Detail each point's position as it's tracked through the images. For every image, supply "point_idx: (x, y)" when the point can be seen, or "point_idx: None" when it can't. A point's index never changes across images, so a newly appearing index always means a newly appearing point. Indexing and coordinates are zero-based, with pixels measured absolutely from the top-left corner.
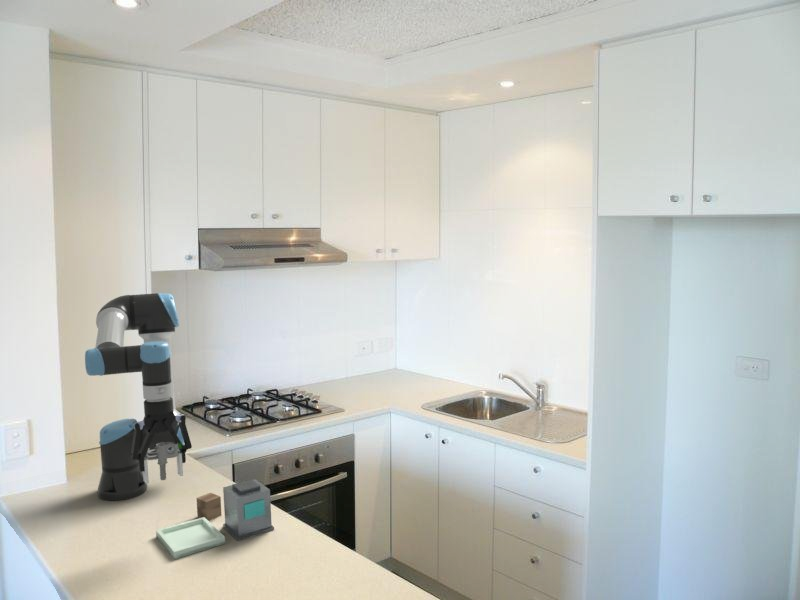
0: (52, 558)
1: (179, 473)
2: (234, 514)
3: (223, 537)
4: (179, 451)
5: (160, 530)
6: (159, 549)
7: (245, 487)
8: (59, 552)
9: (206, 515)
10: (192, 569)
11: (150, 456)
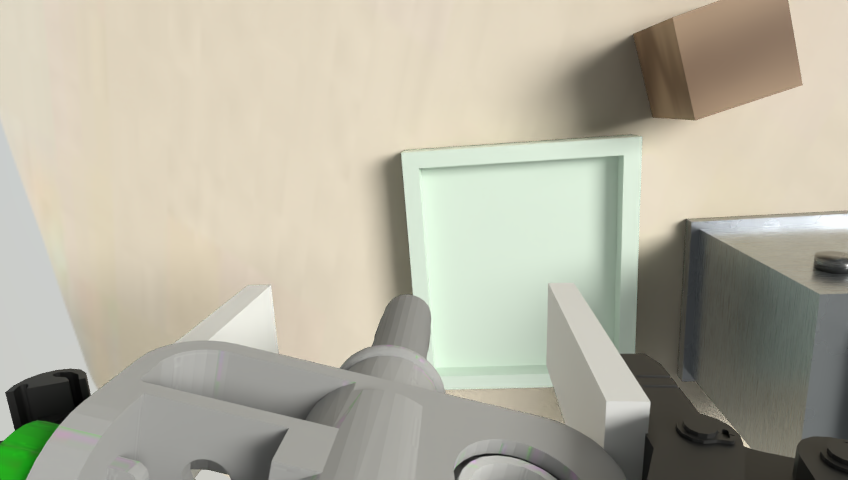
0: (11, 105)
1: (549, 350)
2: (736, 390)
3: None
4: (642, 442)
5: (418, 167)
6: (391, 269)
7: None
8: (30, 62)
9: (661, 110)
10: None
11: (226, 378)
